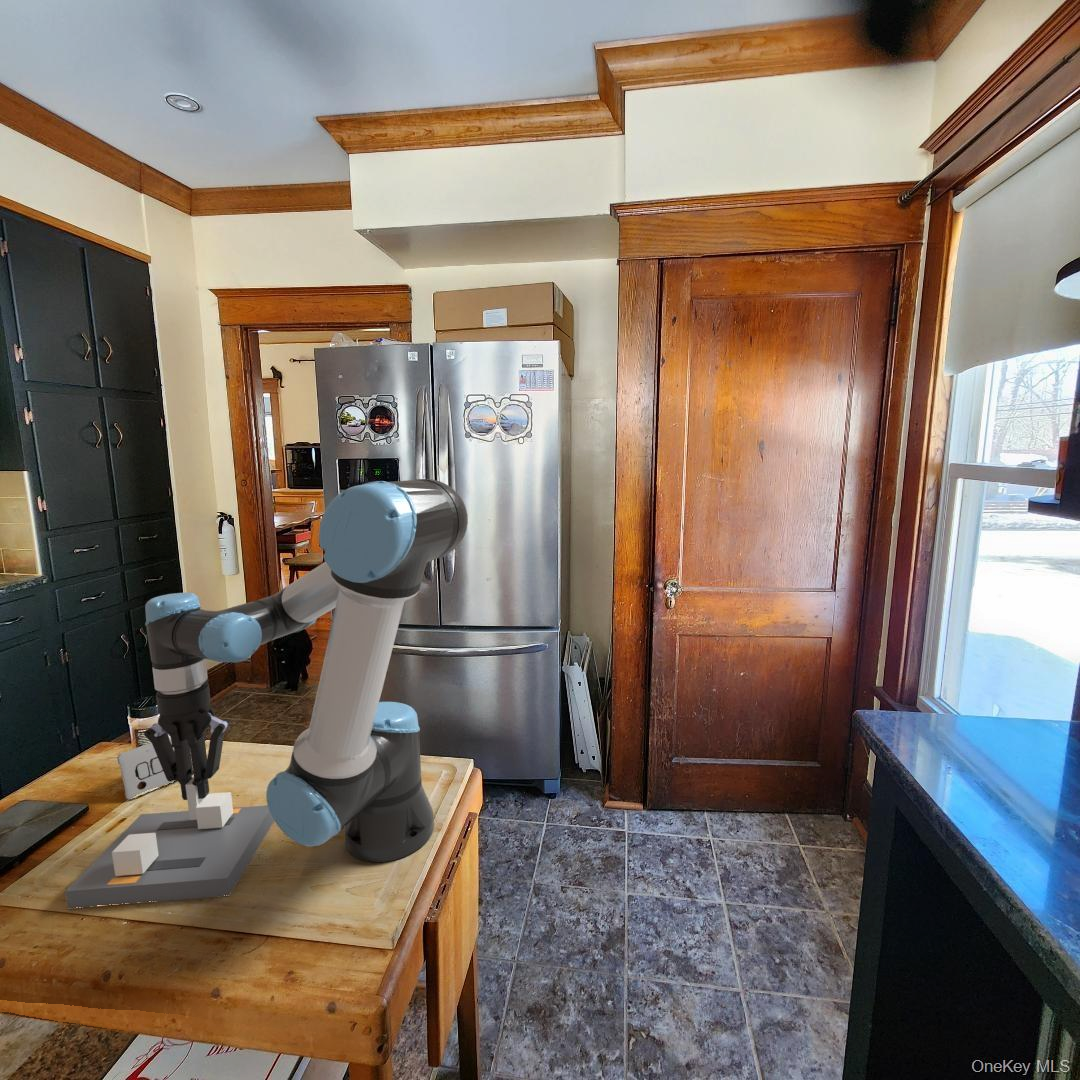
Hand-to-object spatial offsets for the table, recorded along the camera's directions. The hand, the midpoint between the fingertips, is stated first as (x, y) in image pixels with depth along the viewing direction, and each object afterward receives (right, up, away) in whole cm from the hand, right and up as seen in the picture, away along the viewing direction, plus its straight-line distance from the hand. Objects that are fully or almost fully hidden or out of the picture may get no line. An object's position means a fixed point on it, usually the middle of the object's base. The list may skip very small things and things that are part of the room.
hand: (198, 814), depth 96 cm
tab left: (-3, -3, -10) cm, 11 cm away
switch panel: (0, -5, -4) cm, 7 cm away
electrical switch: (-20, -3, +17) cm, 27 cm away
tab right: (+3, -1, +1) cm, 3 cm away
